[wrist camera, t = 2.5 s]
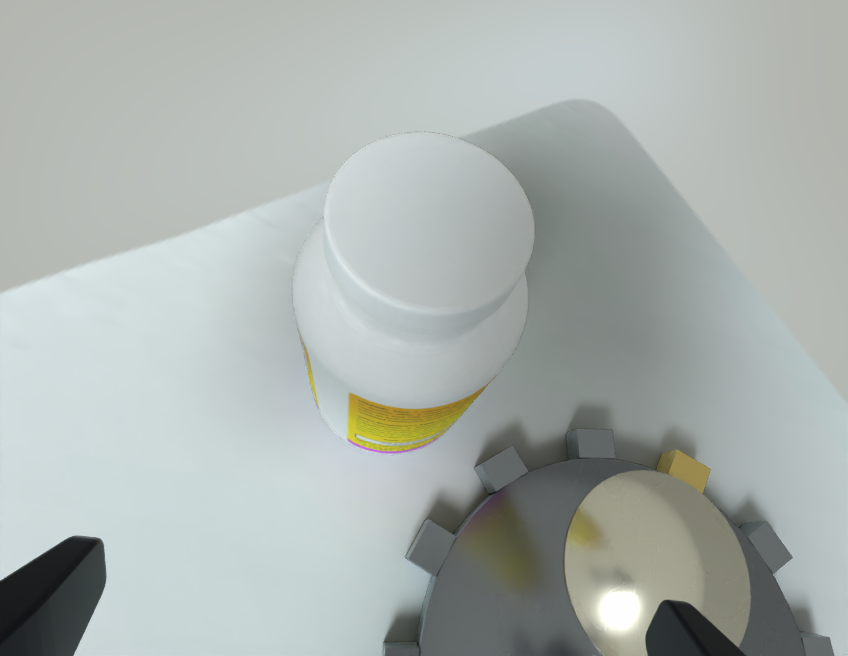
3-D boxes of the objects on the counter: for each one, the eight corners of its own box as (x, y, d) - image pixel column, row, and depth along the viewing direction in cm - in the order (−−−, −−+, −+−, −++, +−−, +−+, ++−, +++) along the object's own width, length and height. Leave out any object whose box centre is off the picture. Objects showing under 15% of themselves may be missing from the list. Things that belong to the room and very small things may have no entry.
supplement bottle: (492, 391, 24) (640, 244, 12) (379, 491, 21) (422, 435, 9) (396, 285, 25) (443, 57, 13) (280, 369, 23) (208, 185, 11)
